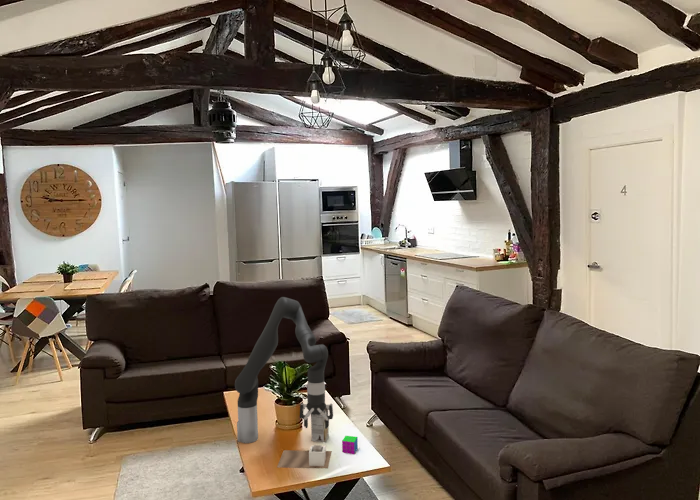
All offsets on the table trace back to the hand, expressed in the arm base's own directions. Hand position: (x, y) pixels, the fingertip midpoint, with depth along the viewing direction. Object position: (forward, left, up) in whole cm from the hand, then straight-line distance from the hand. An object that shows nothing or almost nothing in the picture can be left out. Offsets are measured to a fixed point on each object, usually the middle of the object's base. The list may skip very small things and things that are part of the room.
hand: (316, 427), depth 237 cm
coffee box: (-2, +25, -18) cm, 31 cm away
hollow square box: (0, 0, -16) cm, 16 cm away
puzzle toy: (+13, +15, -18) cm, 27 cm away
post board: (-6, +3, -17) cm, 18 cm away
